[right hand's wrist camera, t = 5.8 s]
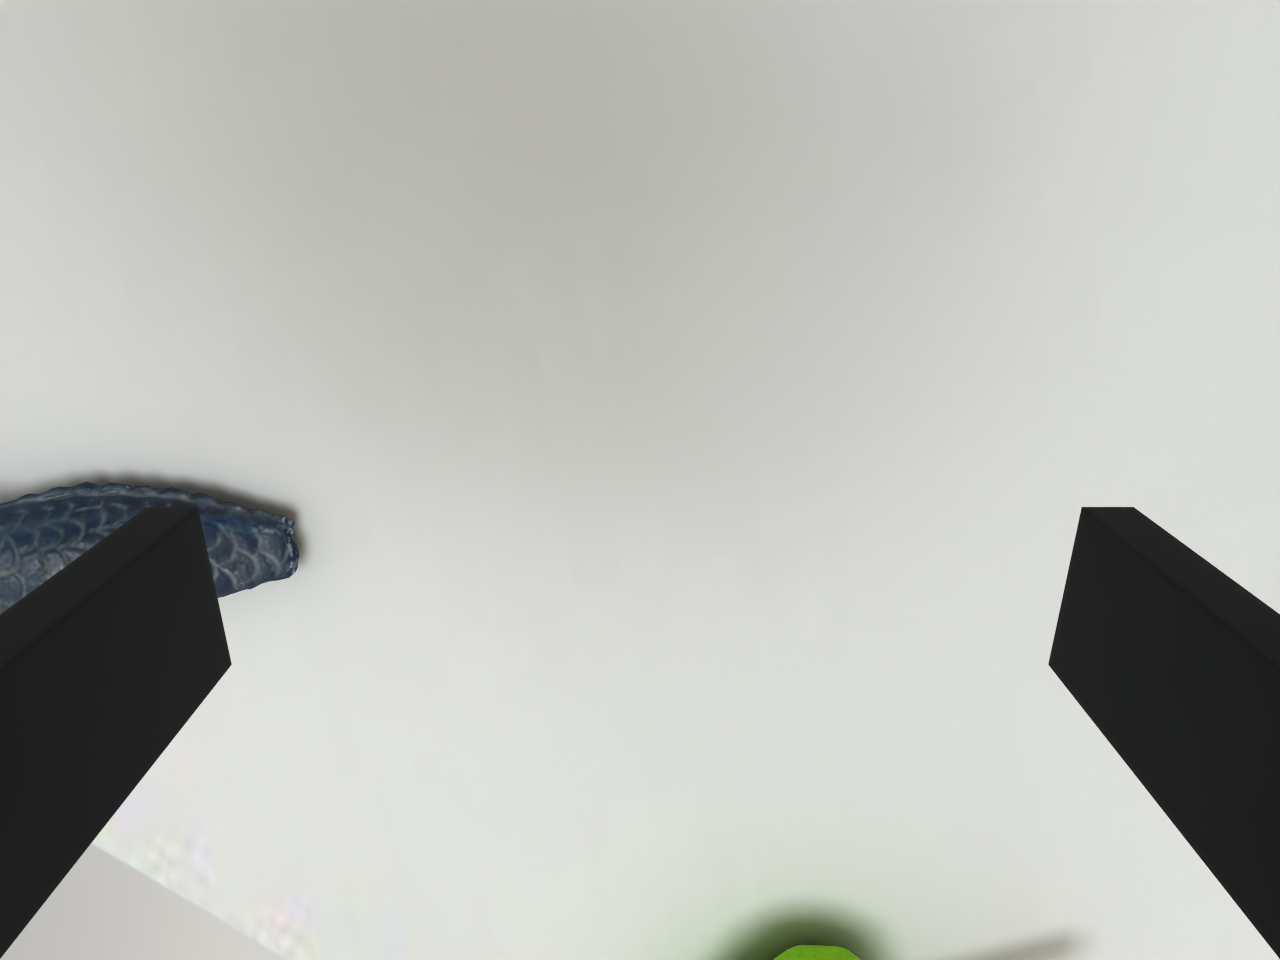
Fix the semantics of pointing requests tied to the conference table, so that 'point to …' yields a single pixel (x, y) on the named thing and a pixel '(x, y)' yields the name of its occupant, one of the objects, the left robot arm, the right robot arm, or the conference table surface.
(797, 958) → the decorative tree
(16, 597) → the fish model
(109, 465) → the conference table surface
